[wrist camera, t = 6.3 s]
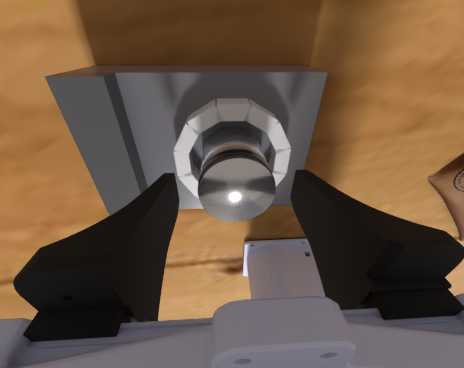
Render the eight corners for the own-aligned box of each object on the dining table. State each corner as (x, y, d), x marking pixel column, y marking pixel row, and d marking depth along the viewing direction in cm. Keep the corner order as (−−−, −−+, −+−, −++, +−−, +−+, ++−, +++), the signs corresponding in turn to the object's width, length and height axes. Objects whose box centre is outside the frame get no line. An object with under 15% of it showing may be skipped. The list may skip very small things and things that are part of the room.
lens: (265, 126, 15) (283, 160, 11) (257, 178, 17) (269, 222, 13) (201, 124, 14) (195, 158, 10) (203, 178, 17) (198, 222, 13)
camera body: (305, 65, 16) (339, 75, 12) (284, 180, 22) (300, 216, 18) (95, 65, 15) (44, 76, 11) (134, 185, 22) (113, 223, 17)
